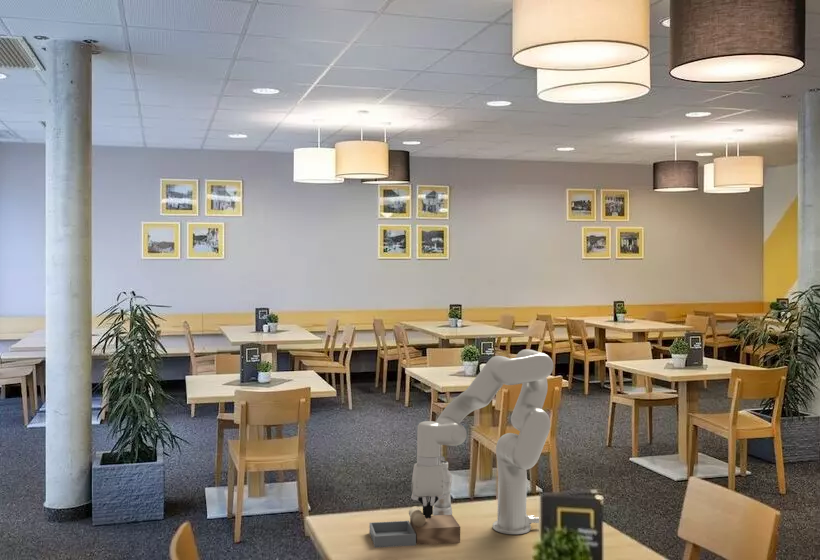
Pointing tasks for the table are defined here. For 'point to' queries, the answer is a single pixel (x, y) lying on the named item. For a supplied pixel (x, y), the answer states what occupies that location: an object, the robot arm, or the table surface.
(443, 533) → the flat wooden case
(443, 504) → the plastic bottle
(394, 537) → the box
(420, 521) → the maple roller
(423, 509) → the robot arm
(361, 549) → the table surface
